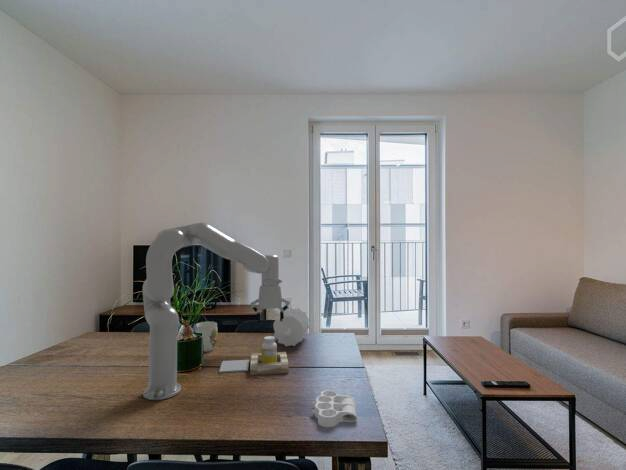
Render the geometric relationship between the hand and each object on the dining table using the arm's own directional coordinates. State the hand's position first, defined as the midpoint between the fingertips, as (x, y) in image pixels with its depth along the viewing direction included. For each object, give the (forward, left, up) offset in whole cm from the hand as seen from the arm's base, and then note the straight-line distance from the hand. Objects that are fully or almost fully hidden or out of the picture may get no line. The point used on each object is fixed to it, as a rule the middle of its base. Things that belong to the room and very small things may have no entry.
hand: (270, 321), depth 146 cm
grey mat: (+2, +15, -20) cm, 25 cm away
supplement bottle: (0, 0, -20) cm, 20 cm away
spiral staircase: (+35, -13, -20) cm, 42 cm away
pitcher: (+28, +31, -20) cm, 46 cm away
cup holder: (0, 0, -20) cm, 20 cm away
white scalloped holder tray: (-42, -20, -21) cm, 51 cm away
